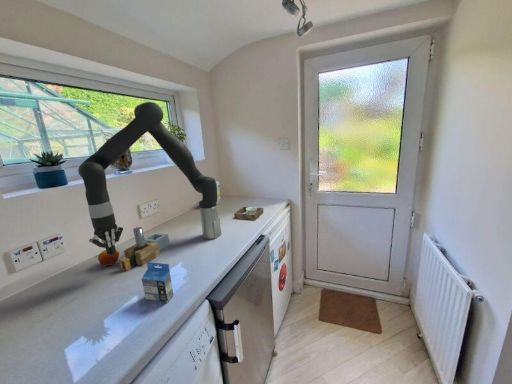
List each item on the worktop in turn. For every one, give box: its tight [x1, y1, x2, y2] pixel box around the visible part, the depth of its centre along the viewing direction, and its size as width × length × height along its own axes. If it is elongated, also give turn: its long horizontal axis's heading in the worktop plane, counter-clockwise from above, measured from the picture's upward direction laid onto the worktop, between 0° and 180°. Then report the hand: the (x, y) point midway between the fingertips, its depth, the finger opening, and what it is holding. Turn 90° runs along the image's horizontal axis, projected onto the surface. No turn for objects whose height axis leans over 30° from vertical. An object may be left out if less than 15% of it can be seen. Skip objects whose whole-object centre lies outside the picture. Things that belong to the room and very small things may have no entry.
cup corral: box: [233, 206, 264, 221], centre depth 155 cm, size 15×15×4 cm
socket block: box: [123, 241, 161, 267], centre depth 106 cm, size 10×10×6 cm
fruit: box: [97, 249, 120, 268], centre depth 102 cm, size 8×8×8 cm
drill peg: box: [132, 226, 146, 251], centre depth 104 cm, size 4×4×15 cm
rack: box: [144, 232, 170, 251], centre depth 117 cm, size 9×9×6 cm
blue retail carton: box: [141, 261, 174, 303], centre depth 77 cm, size 9×4×12 cm, turn 77°
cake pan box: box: [216, 181, 221, 205], centre depth 182 cm, size 19×5×18 cm, turn 168°
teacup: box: [245, 206, 258, 214], centre depth 156 cm, size 10×10×5 cm
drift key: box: [119, 253, 137, 272], centre depth 100 cm, size 3×8×5 cm, turn 158°
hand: (112, 254), depth 92 cm, fingers closed
